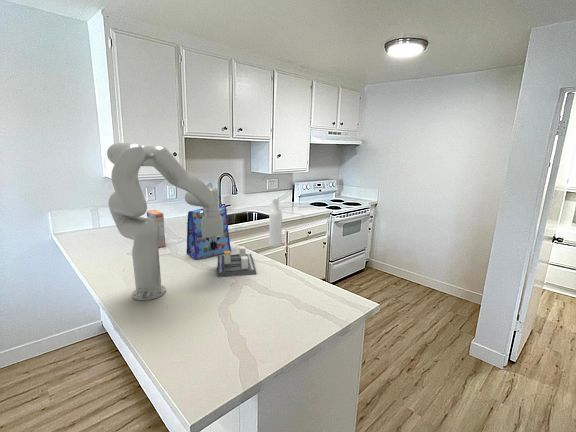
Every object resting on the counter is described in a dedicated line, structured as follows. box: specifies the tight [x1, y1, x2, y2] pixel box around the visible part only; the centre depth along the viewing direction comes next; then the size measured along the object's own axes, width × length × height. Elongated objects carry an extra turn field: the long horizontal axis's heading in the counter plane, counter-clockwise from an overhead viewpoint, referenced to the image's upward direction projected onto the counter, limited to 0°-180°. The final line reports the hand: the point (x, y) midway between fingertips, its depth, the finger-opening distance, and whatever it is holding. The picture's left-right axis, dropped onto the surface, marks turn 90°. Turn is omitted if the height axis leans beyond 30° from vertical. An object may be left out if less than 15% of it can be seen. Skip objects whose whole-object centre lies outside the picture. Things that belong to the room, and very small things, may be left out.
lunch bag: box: [185, 205, 232, 261], centre depth 171 cm, size 22×14×29 cm, turn 129°
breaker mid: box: [223, 251, 231, 264], centre depth 153 cm, size 4×3×6 cm
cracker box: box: [146, 209, 166, 249], centre depth 186 cm, size 14×6×21 cm, turn 41°
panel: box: [216, 253, 257, 278], centre depth 154 cm, size 24×18×2 cm
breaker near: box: [241, 256, 248, 269], centre depth 147 cm, size 4×3×5 cm
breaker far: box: [238, 245, 247, 258], centre depth 162 cm, size 4×3×5 cm
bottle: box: [268, 196, 283, 248], centre depth 186 cm, size 8×8×30 cm
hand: (213, 249), depth 151 cm, fingers closed
